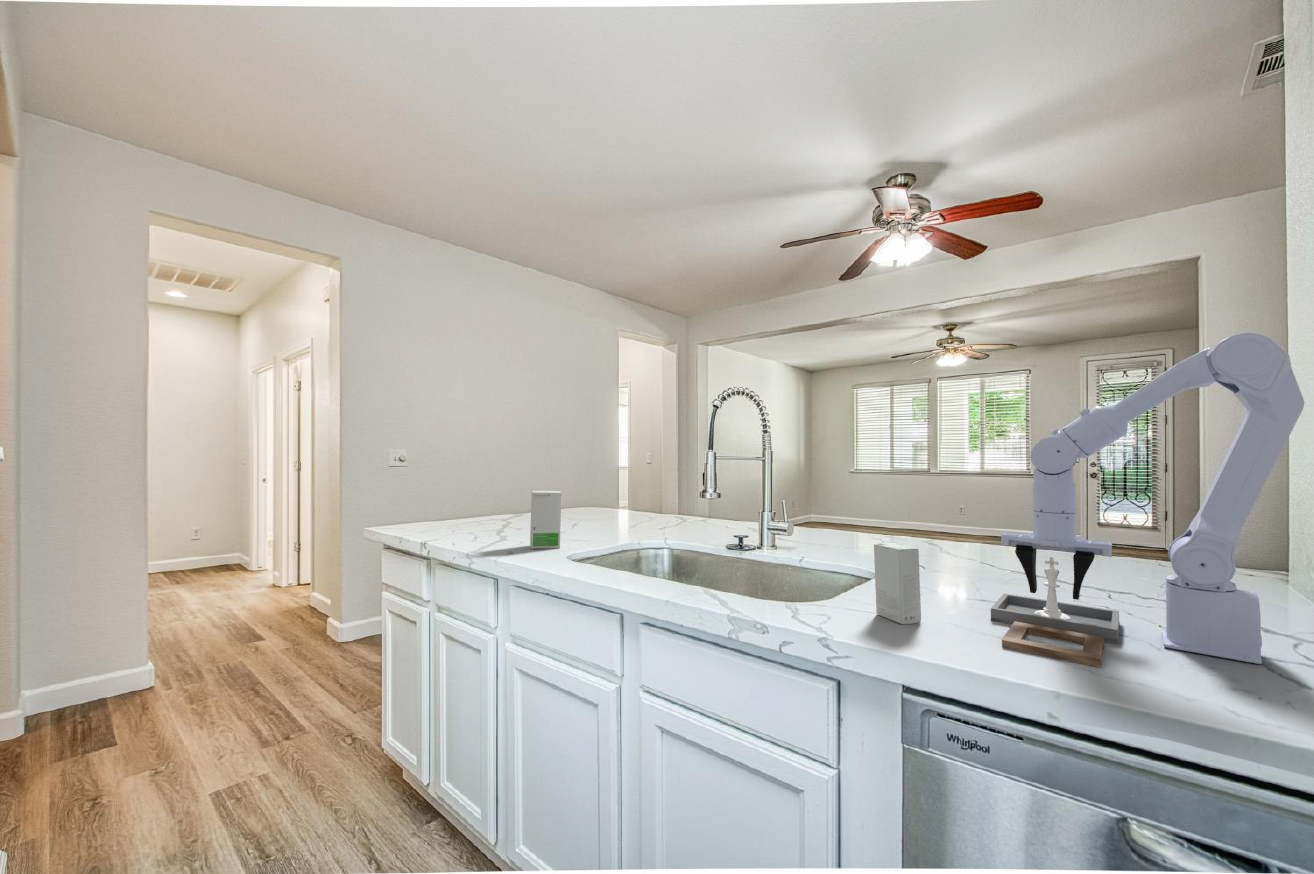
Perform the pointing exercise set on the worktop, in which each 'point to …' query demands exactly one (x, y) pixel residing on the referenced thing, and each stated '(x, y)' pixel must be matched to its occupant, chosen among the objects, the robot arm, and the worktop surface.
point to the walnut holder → (1087, 656)
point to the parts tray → (1080, 618)
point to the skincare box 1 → (545, 519)
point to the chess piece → (1052, 593)
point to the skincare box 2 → (897, 582)
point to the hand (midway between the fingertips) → (1054, 594)
